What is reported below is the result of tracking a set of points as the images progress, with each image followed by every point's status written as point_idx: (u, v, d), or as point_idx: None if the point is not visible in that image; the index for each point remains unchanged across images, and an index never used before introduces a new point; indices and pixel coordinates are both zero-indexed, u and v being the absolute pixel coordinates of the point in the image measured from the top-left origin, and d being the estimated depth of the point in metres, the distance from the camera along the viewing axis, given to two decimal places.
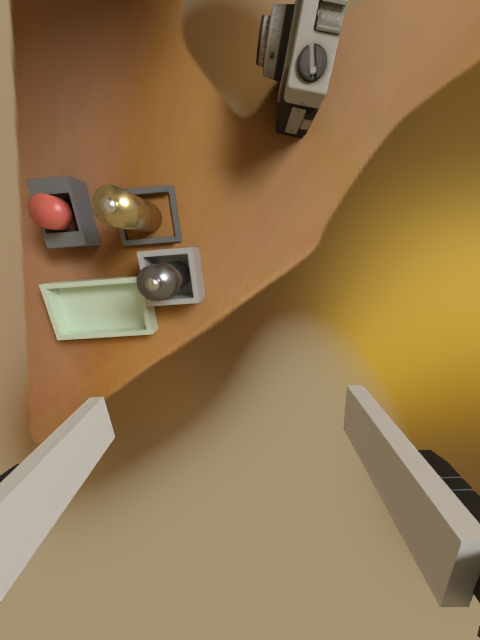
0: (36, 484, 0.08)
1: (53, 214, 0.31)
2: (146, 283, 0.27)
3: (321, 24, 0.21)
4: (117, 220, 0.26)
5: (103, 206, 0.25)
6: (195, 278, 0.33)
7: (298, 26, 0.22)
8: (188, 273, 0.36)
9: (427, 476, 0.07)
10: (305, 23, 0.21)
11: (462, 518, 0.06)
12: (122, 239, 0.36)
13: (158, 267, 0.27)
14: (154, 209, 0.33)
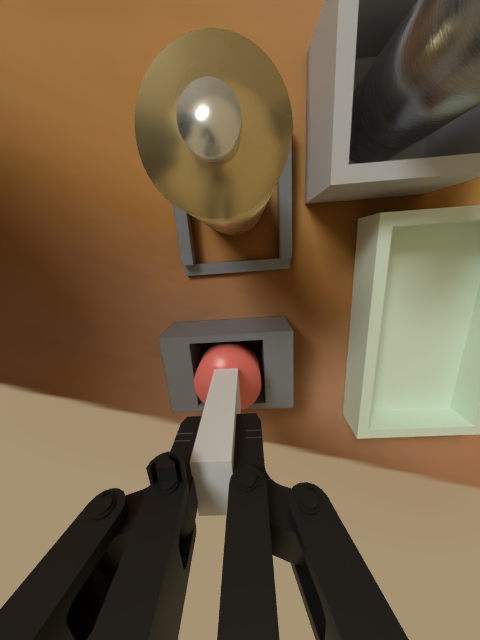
0: None
1: None
2: None
3: None
4: (267, 114, 0.06)
5: (214, 139, 0.06)
6: None
7: None
8: None
9: (225, 426, 0.10)
10: None
11: (223, 449, 0.08)
12: (276, 266, 0.17)
13: None
14: None
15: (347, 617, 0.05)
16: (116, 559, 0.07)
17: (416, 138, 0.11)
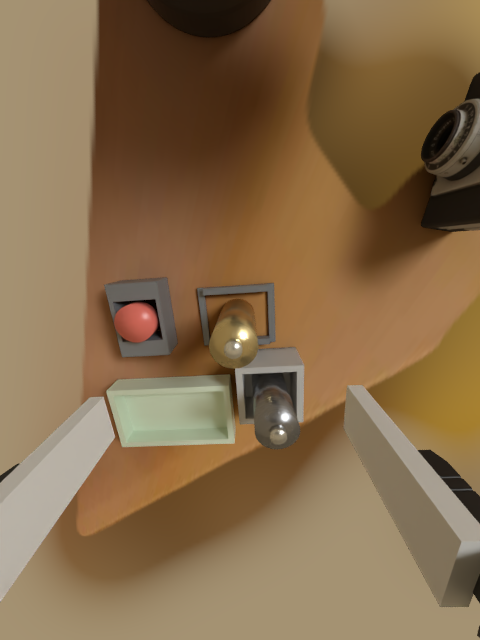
0: (36, 484, 0.08)
1: (143, 327, 0.26)
2: (272, 436, 0.21)
3: None
4: (238, 361, 0.21)
5: (227, 351, 0.20)
6: (302, 397, 0.28)
7: None
8: None
9: (427, 476, 0.07)
10: None
11: (462, 518, 0.06)
12: (205, 338, 0.31)
13: (286, 414, 0.22)
14: (253, 314, 0.27)
15: None
16: None
17: None
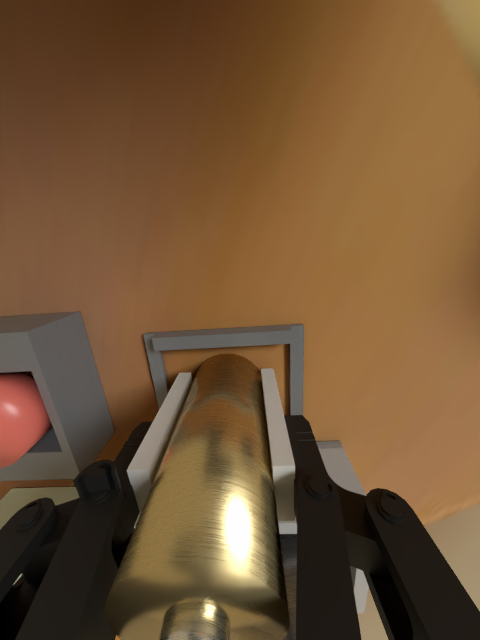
0: (170, 434, 0.10)
1: (0, 440, 0.11)
2: None
3: None
4: None
5: None
6: None
7: None
8: None
9: (277, 429, 0.09)
10: None
11: (283, 453, 0.08)
12: None
13: None
14: (262, 395, 0.13)
15: (444, 636, 0.04)
16: (46, 567, 0.07)
17: None
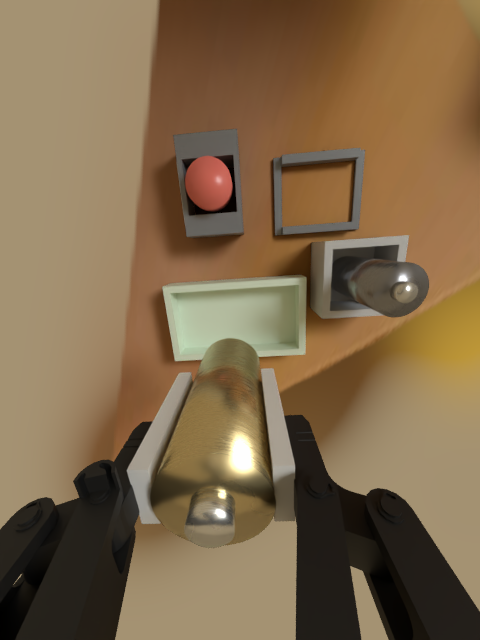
0: (170, 434, 0.10)
1: (219, 187, 0.22)
2: (399, 290, 0.17)
3: None
4: None
5: (195, 533, 0.07)
6: None
7: None
8: None
9: (277, 429, 0.09)
10: None
11: (283, 453, 0.08)
12: (277, 225, 0.26)
13: (416, 266, 0.18)
14: (259, 371, 0.15)
15: (444, 637, 0.04)
16: (46, 567, 0.07)
17: (340, 280, 0.24)
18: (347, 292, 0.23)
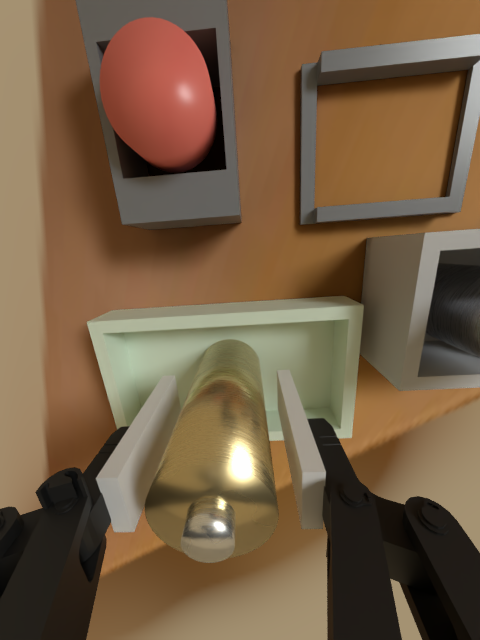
0: (147, 440, 0.10)
1: (182, 103, 0.09)
2: None
3: None
4: None
5: (192, 547, 0.07)
6: None
7: None
8: None
9: (302, 433, 0.09)
10: None
11: (311, 458, 0.08)
12: (305, 206, 0.14)
13: None
14: (260, 373, 0.15)
15: None
16: (11, 577, 0.07)
17: (445, 312, 0.11)
18: (472, 341, 0.10)
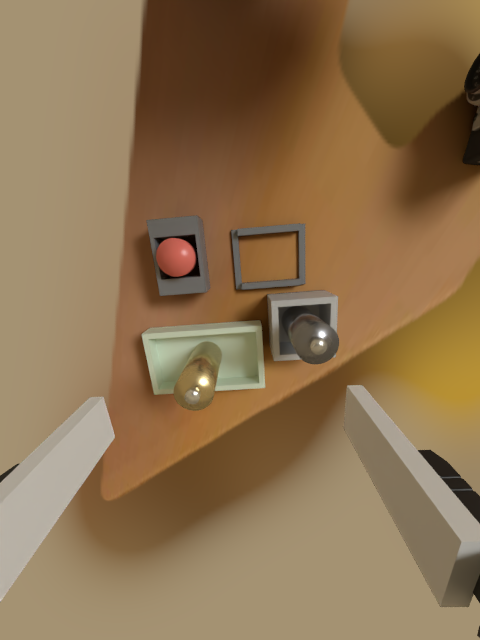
0: (36, 484, 0.08)
1: (183, 260, 0.27)
2: (313, 344, 0.22)
3: None
4: (198, 405, 0.25)
5: (187, 398, 0.24)
6: (335, 330, 0.29)
7: None
8: None
9: (427, 476, 0.07)
10: None
11: (462, 518, 0.06)
12: (237, 282, 0.32)
13: (329, 327, 0.23)
14: (219, 356, 0.32)
15: None
16: None
17: (285, 326, 0.29)
18: (288, 337, 0.28)
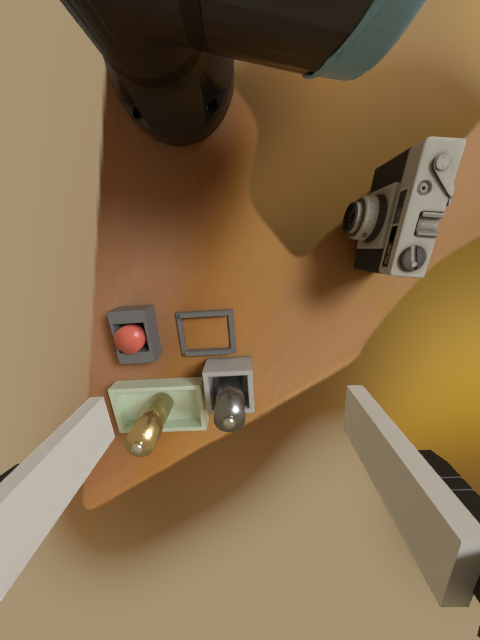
0: (36, 484, 0.08)
1: (134, 343, 0.35)
2: (225, 422, 0.31)
3: (421, 231, 0.25)
4: (142, 453, 0.34)
5: (133, 450, 0.33)
6: (252, 393, 0.37)
7: (400, 233, 0.26)
8: None
9: (427, 476, 0.07)
10: (406, 232, 0.25)
11: (462, 518, 0.06)
12: (182, 349, 0.40)
13: (238, 410, 0.32)
14: (168, 406, 0.41)
15: None
16: None
17: (217, 390, 0.38)
18: None
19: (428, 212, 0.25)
